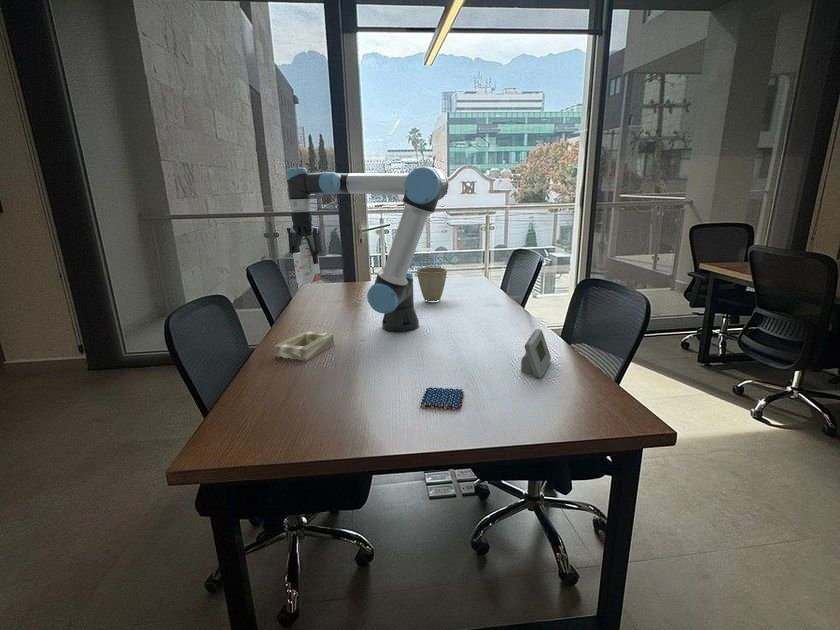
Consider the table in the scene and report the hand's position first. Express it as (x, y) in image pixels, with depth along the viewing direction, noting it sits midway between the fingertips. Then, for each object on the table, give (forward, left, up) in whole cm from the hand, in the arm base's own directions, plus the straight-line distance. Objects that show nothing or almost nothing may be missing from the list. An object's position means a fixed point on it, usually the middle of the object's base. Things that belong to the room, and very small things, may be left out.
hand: (307, 271), depth 169 cm
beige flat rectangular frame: (-9, +19, -25) cm, 33 cm away
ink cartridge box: (0, 0, -4) cm, 4 cm away
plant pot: (-30, -59, -25) cm, 71 cm away
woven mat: (-68, +41, -26) cm, 84 cm away
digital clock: (-90, +12, -25) cm, 94 cm away
